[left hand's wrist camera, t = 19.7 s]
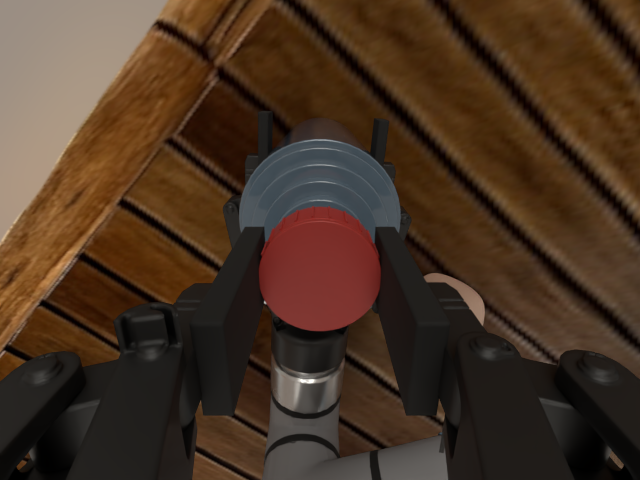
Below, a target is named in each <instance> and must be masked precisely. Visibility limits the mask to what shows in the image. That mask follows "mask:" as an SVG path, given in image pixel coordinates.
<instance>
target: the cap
mask: <svg viewBox="0 0 640 480" xmlns="http://www.w3.org/2000/svg"><path fill="white" fill-rule="evenodd" d="M261 256H262V258H261V261H260V264H259V283H260V291H261V294H262V296H263V298H264V300H265V302H266V304H267V305H268V306H269V308H270V309H271V310H272V311H273V312H274V313H275V314H276V315H277V316H278V317H279V318H281V319H282V320H283V321H285V322H287V323H288V324H291V325H293V326H295V327H298V328H301V329H305V330H310V331H329V330H335V329H339V328H342V327H345V326H347V325H349V324H351V323H353V322H355V321H356V320H358V319H359V318H360V317H362V316H363V315H364V314H365V313H366V312H367V311H368V310H369V309H370V307H371V306H372V305H373V303H374V302H375V300H376V298H377V296H378V293H379V290H380V279H381V266H380V262H379V259H378V258H380V257H379V254H378V251H377V248H376V246H375V243H373V241H372V238H371V235H370V233H369V231H368V230H366V229H365V228H364V226H363V225H362V224H361V223H360V221H359V219H355V218H354V217H352V216H351V215H349V214H347V213H346V211H341V210H338V209H334V208H331V207H330V206H328V207H314V206H312V207H311V208H306V209H302V210H296V212H294V213H292V214H291V215H289V216H287V217H286V218H285V217H284V218H283V219H282V221H281V222H280V223H279V224H278V225H277V226H276V227H275V229H274V228H273V229H272V231H271V234H270V237H269V239H268V241H266V242H265V245H264V247H263V250H262V253H261Z"/></svg>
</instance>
